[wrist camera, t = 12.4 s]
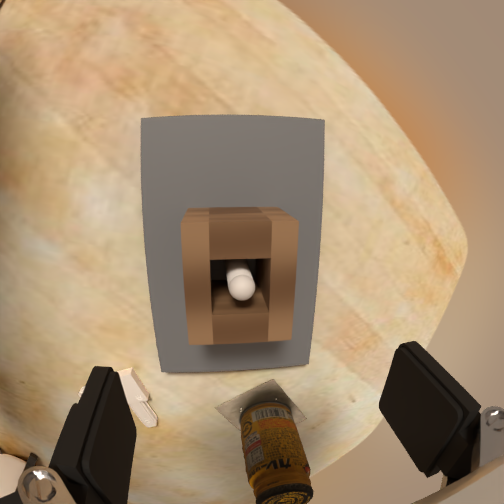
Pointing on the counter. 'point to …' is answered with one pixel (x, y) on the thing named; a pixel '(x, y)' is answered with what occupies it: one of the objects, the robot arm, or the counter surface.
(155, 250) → the pin board
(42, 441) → the counter surface
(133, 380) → the corner connector
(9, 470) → the coffee press
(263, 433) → the condiment
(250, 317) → the hollow block
